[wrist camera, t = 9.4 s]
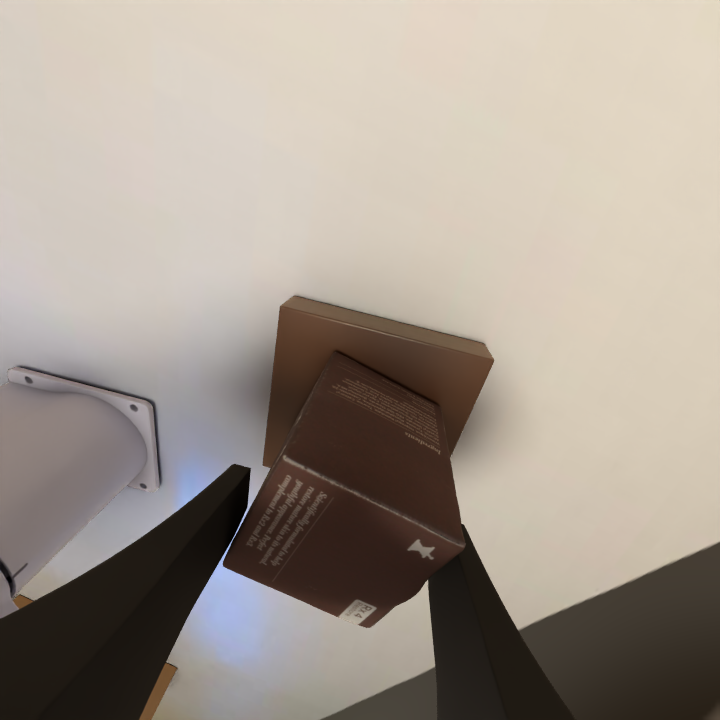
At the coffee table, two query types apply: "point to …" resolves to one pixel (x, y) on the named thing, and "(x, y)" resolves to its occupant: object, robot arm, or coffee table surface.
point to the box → (354, 499)
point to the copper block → (370, 363)
